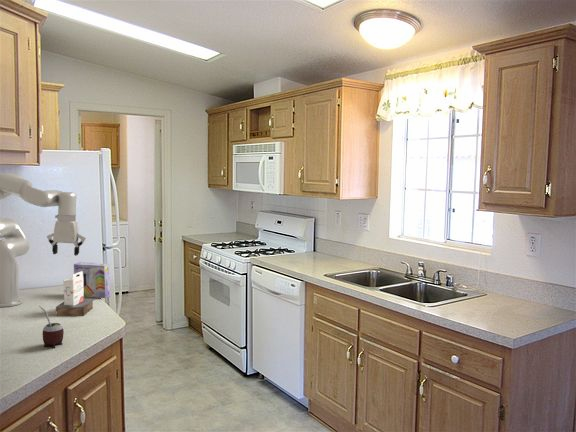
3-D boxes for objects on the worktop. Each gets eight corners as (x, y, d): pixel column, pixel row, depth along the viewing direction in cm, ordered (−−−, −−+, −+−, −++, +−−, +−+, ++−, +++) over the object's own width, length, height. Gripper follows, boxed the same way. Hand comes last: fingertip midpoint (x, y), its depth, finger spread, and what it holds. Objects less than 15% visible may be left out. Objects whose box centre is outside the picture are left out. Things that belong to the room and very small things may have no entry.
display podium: (55, 315, 212) (55, 307, 212) (66, 307, 225) (66, 299, 224) (84, 316, 213) (84, 307, 213) (93, 308, 226) (93, 300, 225)
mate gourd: (64, 347, 176) (64, 307, 175) (41, 350, 172) (40, 310, 170) (62, 340, 182) (61, 302, 181) (39, 344, 178) (38, 305, 176)
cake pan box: (72, 296, 246) (72, 262, 244) (78, 293, 251) (78, 261, 249) (104, 299, 242) (104, 265, 240) (110, 297, 247) (110, 263, 245)
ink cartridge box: (74, 300, 223) (74, 270, 222) (84, 301, 223) (83, 270, 221) (63, 305, 215) (63, 273, 213) (73, 306, 214) (73, 274, 213)
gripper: (44, 218, 216) (43, 254, 217) (82, 220, 217) (81, 257, 219) (51, 216, 223) (50, 251, 225) (88, 218, 224) (87, 254, 226)
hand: (65, 254), depth 222 cm, fingers open, 9 cm apart
